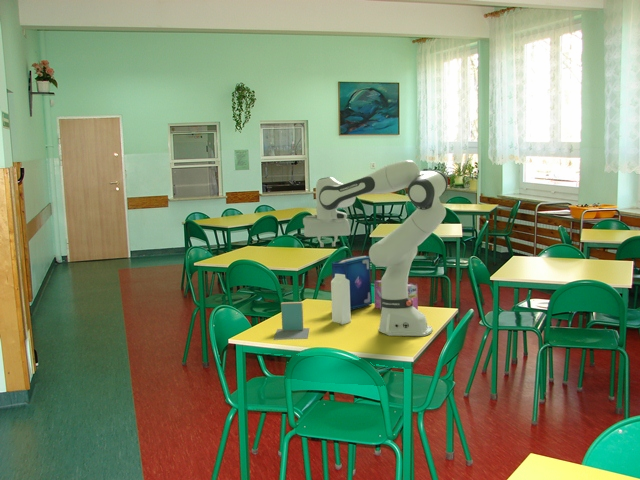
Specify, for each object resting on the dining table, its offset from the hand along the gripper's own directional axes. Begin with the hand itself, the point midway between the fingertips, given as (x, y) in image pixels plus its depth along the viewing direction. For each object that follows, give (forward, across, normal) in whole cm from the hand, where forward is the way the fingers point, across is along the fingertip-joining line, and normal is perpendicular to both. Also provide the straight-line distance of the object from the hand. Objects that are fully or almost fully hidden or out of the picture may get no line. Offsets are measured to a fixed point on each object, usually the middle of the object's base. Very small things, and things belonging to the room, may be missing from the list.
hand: (327, 246), depth 282 cm
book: (+35, +10, +33) cm, 50 cm away
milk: (+35, +5, +5) cm, 36 cm away
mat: (+35, -16, -15) cm, 41 cm away
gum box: (+36, +31, +27) cm, 54 cm away
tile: (+34, -16, -9) cm, 39 cm away
